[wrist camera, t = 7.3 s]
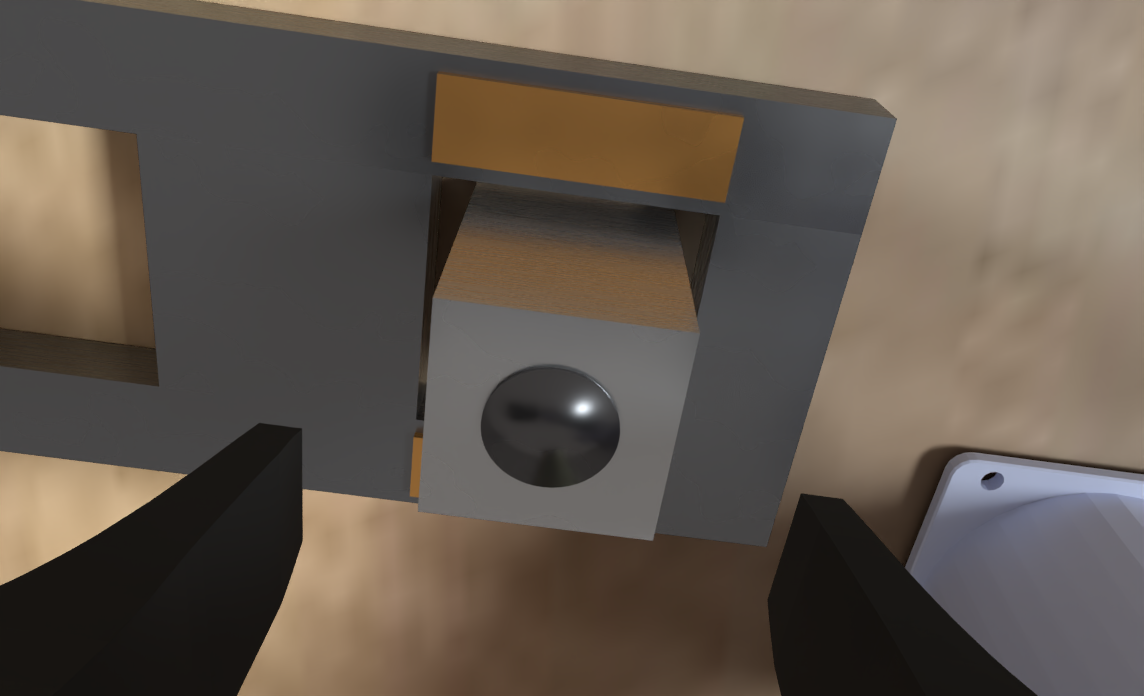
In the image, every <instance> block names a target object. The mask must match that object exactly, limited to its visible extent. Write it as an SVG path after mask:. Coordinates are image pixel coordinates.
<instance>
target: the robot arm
mask: <svg viewBox="0 0 1144 696" xmlns="http://www.w3.org/2000/svg"><path fill="white" fill-rule="evenodd" d="M990 472H997V473H996V475H995V476H994V477H993V478H991V479H989V480H981V479H982V478H983V477H984V475H986V474H988V473H990ZM302 541H303V525H302V428H295V427H288V426H280V425H272V424H265V423H258V424H257V425H256V426H254V427H253V428H251V429H250V430H248V431H247V432H246V433H244V434H243V435H241V436H240V437H239V438H237V439H236V440H235V441H233V442H232V443H230V444H229V445H228V446H226V447H225V448H224V449H222V450H221V451H220V452H218V453H217V454H216V455H214V456H213V457H212V458H210V459H209V460H207V461H206V462H205V463H203V464H202V465H201V466H199V467H198V468H197V469H195V470H194V471H192V472H191V473H190V474H188V475H187V476H185V477H184V478H183V479H181V480H180V481H178V482H177V483H176V484H174V485H173V486H171V487H170V488H168V489H167V490H166V491H164V492H163V493H161V494H160V495H158V496H157V497H156V498H154V499H153V500H151V501H150V502H148V503H147V504H145V505H143V506H142V507H140V508H139V509H137V510H136V511H134V512H132V513H131V514H129V515H128V516H126V517H125V518H123V519H121V520H120V521H118V522H117V523H115V524H114V525H112V526H110V527H109V528H107V529H106V530H104V531H103V532H101V533H99V534H98V535H96V536H94V537H93V538H91V539H89V540H87V541H86V542H84V543H82V544H80V545H79V546H77V547H75V548H73V549H72V550H70V551H68V552H66V553H64V554H62V555H61V556H59V557H57V558H55V559H53V560H51V561H49V562H47V563H45V564H43V565H41V566H39V567H37V568H36V569H34V570H32V571H30V572H28V573H26V574H24V575H22V576H20V577H18V578H16V579H14V580H12V581H9V582H7V583H5V584H3V585H0V696H237V694H238V692H239V690H240V688H241V686H242V684H243V682H244V680H245V678H246V676H247V674H248V672H249V670H250V668H251V666H252V664H253V662H254V660H255V657H256V655H257V653H258V651H259V649H260V647H261V645H262V643H263V641H264V639H265V637H266V635H267V633H268V631H269V629H270V627H271V624H272V622H273V620H274V618H275V616H276V614H277V612H278V610H279V608H280V606H281V603H282V601H283V598H284V595H285V592H286V589H287V586H288V584H289V581H290V578H291V575H292V572H293V569H294V566H295V563H296V560H297V556H298V553H299V550H300V547H301V544H302ZM768 610H769V621H770V632H771V641H772V650H773V658H774V665H775V670H776V674H777V679H778V683H779V687H780V692H781V696H1144V475H1143V474H1136V473H1128V472H1120V471H1113V470H1105V469H1097V468H1090V467H1082V466H1074V465H1067V464H1059V463H1051V462H1044V461H1036V460H1029V459H1021V458H1013V457H1006V456H998V455H990V454H983V453H975V452H967V453H962V454H959V455H956V456H955V457H954V458H952V459H951V460H950V461H949V462H948V464H947V465H946V467H945V469H944V472H943V474H942V476H941V479H940V481H939V484H938V486H937V489H936V491H935V494H934V496H933V499H932V501H931V504H930V506H929V509H928V511H927V514H926V516H925V519H924V521H923V524H922V526H921V529H920V531H919V534H918V536H917V539H916V541H915V544H914V546H913V549H912V551H911V554H910V556H909V558H908V561H907V563H906V566H905V567H904V566H903V565H902V564H901V563H900V562H899V561H898V560H897V559H896V557H895V556H894V555H893V554H892V553H891V552H890V551H889V550H888V548H887V547H886V546H885V545H884V544H883V543H882V542H881V541H880V539H879V538H878V537H877V536H876V535H875V534H874V533H873V532H872V530H871V529H870V528H869V527H868V526H867V525H866V524H865V523H864V521H863V520H862V519H861V518H860V517H859V516H858V515H857V514H856V513H855V511H854V510H853V509H852V508H851V507H850V506H849V505H848V504H847V503H846V502H845V501H844V500H843V499H838V498H831V497H823V496H815V495H808V494H801V495H800V499H799V502H798V505H797V508H796V511H795V514H794V518H793V521H792V524H791V527H790V530H789V533H788V537H787V540H786V543H785V546H784V549H783V552H782V556H781V559H780V562H779V565H778V568H777V571H776V575H775V578H774V581H773V584H772V587H771V590H770V594H769V597H768Z"/></svg>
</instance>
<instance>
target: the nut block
mask: <svg viewBox="0 0 1144 696" xmlns="http://www.w3.org/2000/svg"><path fill="white" fill-rule="evenodd" d="M699 336H700V331H699V326H698V321H697V317H696V312H695V307H694V302H693V297H692V293H691V288H690V283H689V278H688V273H687V269H686V264H685V259H684V254H683V249H682V245H681V240H680V235H679V230H678V225H677V221H676V216H675V211H674V209H670V208H663V207H656V206H649V205H642V204H635V203H627V202H620V201H613V200H606V199H599V198H592V197H584V196H577V195H570V194H563V193H556V192H549V191H542V190H534V189H527V188H520V187H513V186H506V185H499V184H491V183H484V182H477V183H476V186H475V188H474V191H473V194H472V196H471V199H470V201H469V204H468V207H467V209H466V212H465V215H464V217H463V220H462V222H461V225H460V228H459V230H458V233H457V236H456V238H455V241H454V243H453V246H452V249H451V251H450V254H449V256H448V259H447V262H446V264H445V267H444V270H443V272H442V275H441V277H440V280H439V283H438V285H437V288H436V290H435V293H434V296H433V302H432V316H431V330H430V344H429V359H428V373H427V387H426V402H425V416H424V430H423V445H422V459H421V473H420V487H419V502H418V512H426V513H434V514H442V515H450V516H458V517H466V518H474V519H482V520H490V521H498V522H506V523H514V524H522V525H530V526H538V527H546V528H554V529H562V530H570V531H578V532H586V533H594V534H602V535H610V536H618V537H626V538H635V539H643V540H651V541H653V538H654V534H655V529H656V525H657V521H658V516H659V512H660V507H661V503H662V499H663V494H664V490H665V485H666V481H667V477H668V472H669V468H670V463H671V459H672V455H673V450H674V446H675V441H676V437H677V433H678V428H679V424H680V419H681V415H682V411H683V406H684V402H685V397H686V393H687V389H688V384H689V380H690V375H691V371H692V367H693V362H694V358H695V353H696V349H697V345H698V340H699Z"/></svg>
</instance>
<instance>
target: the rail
mask: <svg viewBox="0 0 1144 696" xmlns="http://www.w3.org/2000/svg"><path fill="white" fill-rule="evenodd" d="M0 115H5V116H12V117H19V118H26V119H33V120H41V121H48V122H55V123H62V124H69V125H76V126H84V127H91V128H98V129H105V130H112V131H119V132H127V133H134V134H137V144H138V155H139V167H140V178H141V189H142V200H143V211H144V222H145V233H146V244H147V255H148V267H149V278H150V289H151V300H152V311H153V322H154V333H155V344H156V349H151V348H143V347H136V346H128V345H120V344H113V343H105V342H97V341H90V340H82V339H74V338H67V337H59V336H51V335H44V334H36V333H29V332H21V331H13V330H6V329H0V451H5V452H13V453H21V454H29V455H37V456H45V457H53V458H61V459H69V460H77V461H85V462H93V463H101V464H109V465H117V466H125V467H133V468H141V469H149V470H157V471H165V472H173V473H181V474H190V473H191V472H192V471H194V470H195V469H197V468H198V467H199V466H201V465H202V464H203V463H205V462H206V461H207V460H209V459H210V458H212V457H213V456H214V455H216V454H217V453H218V452H220V451H221V450H222V449H224V448H225V447H226V446H228V445H229V444H230V443H232V442H233V441H235V440H236V439H237V438H239V437H240V436H241V435H243V434H244V433H246V432H247V431H248V430H250V429H251V428H253V427H254V426H256V425H257V424H258V423H265V424H272V425H280V426H288V427H295V428H302V489H308V490H316V491H324V492H332V493H340V494H348V495H356V496H364V497H372V498H380V499H388V500H396V501H404V502H412V503H418V502H419V487H420V473H421V459H422V445H423V430H424V416H425V402H426V387H427V373H428V359H429V344H430V330H431V316H432V302H433V296H434V287H435V273H436V259H437V245H438V231H439V217H440V203H441V189H442V177H449V178H456V179H463V180H470V181H477V182H484V183H491V184H499V185H506V186H513V187H520V188H527V189H534V190H542V191H549V192H556V193H563V194H570V195H577V196H584V197H592V198H599V199H606V200H613V201H620V202H627V203H635V204H642V205H649V206H656V207H663V208H670V209H677V210H685V211H692V212H699V213H706V219H705V223H704V228H703V233H702V237H701V242H700V247H699V251H698V256H697V260H696V265H695V270H694V274H693V279H692V283H691V293H692V297H693V302H694V307H695V312H696V317H697V321H698V326H699V331H700V336H699V340H698V345H697V349H696V353H695V358H694V362H693V367H692V371H691V375H690V380H689V384H688V389H687V393H686V397H685V402H684V406H683V411H682V415H681V419H680V424H679V428H678V433H677V437H676V441H675V446H674V450H673V455H672V459H671V463H670V468H669V472H668V477H667V481H666V485H665V490H664V494H663V499H662V503H661V507H660V512H659V516H658V521H657V525H656V529H655V533H659V534H667V535H675V536H683V537H691V538H699V539H707V540H715V541H723V542H731V543H739V544H747V545H755V546H763V547H767V544H768V540H769V537H770V534H771V530H772V527H773V524H774V521H775V517H776V514H777V511H778V507H779V504H780V501H781V498H782V494H783V491H784V488H785V485H786V481H787V478H788V475H789V471H790V468H791V465H792V462H793V458H794V455H795V452H796V448H797V445H798V442H799V439H800V435H801V432H802V429H803V425H804V422H805V419H806V416H807V412H808V409H809V406H810V402H811V399H812V396H813V393H814V389H815V386H816V383H817V380H818V376H819V373H820V370H821V366H822V363H823V360H824V357H825V353H826V350H827V347H828V343H829V340H830V337H831V334H832V330H833V327H834V324H835V320H836V317H837V314H838V311H839V307H840V304H841V301H842V298H843V294H844V291H845V288H846V284H847V281H848V278H849V275H850V271H851V268H852V265H853V261H854V258H855V255H856V252H857V248H858V245H859V242H860V238H861V235H862V232H863V229H864V225H865V222H866V219H867V215H868V212H869V209H870V206H871V202H872V199H873V196H874V193H875V189H876V186H877V183H878V179H879V176H880V173H881V170H882V166H883V163H884V160H885V156H886V153H887V150H888V147H889V143H890V140H891V137H892V133H893V130H894V127H895V124H896V120H897V119H896V118H895V117H894V116H893V115H892V114H891V113H890V112H889V111H887V110H886V109H885V108H884V107H883V106H882V105H881V104H879V103H878V102H877V101H876V100H875V99H868V98H861V97H854V96H847V95H840V94H833V93H827V92H820V91H813V90H806V89H799V88H792V87H785V86H779V85H772V84H765V83H758V82H751V81H744V80H737V79H731V78H724V77H717V76H710V75H703V74H696V73H689V72H683V71H676V70H669V69H662V68H655V67H648V66H641V65H635V64H628V63H621V62H614V61H607V60H600V59H594V58H587V57H580V56H573V55H566V54H559V53H552V52H546V51H539V50H532V49H525V48H518V47H511V46H504V45H498V44H491V43H484V42H477V41H470V40H463V39H456V38H450V37H443V36H436V35H429V34H422V33H415V32H408V31H402V30H395V29H388V28H381V27H374V26H367V25H360V24H354V23H347V22H340V21H333V20H326V19H319V18H312V17H306V16H299V15H292V14H285V13H278V12H271V11H264V10H258V9H251V8H244V7H237V6H230V5H223V4H216V3H210V2H203V1H196V0H0Z"/></svg>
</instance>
